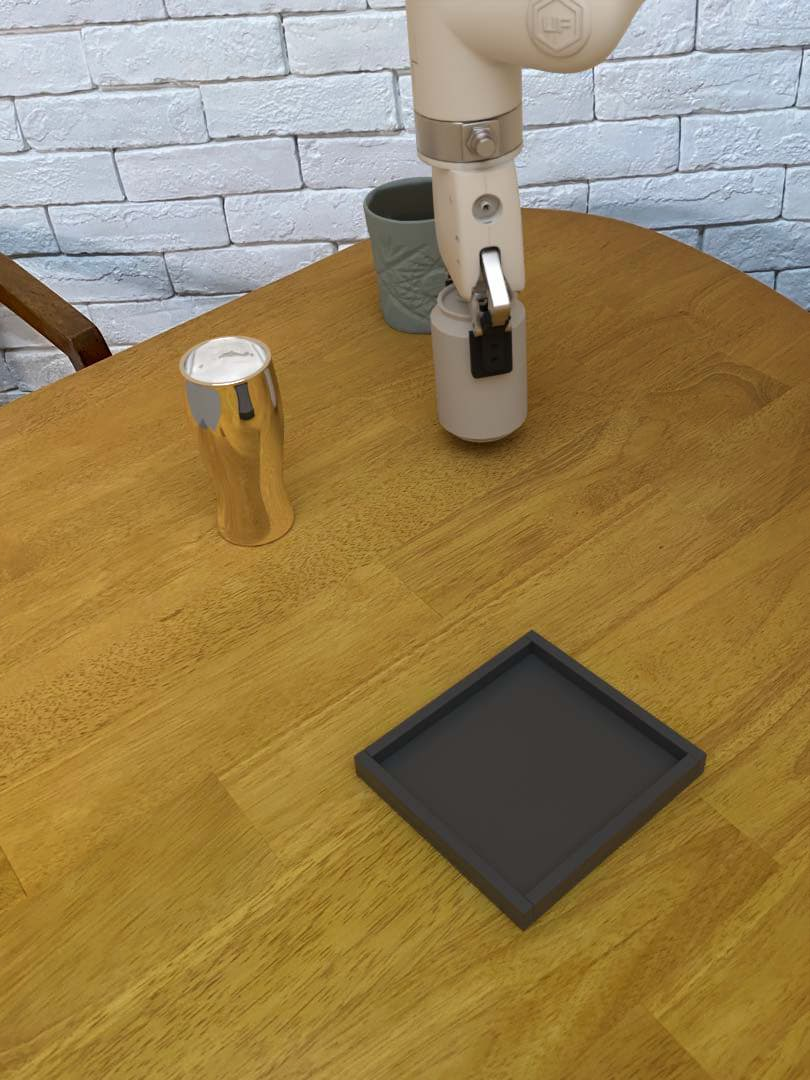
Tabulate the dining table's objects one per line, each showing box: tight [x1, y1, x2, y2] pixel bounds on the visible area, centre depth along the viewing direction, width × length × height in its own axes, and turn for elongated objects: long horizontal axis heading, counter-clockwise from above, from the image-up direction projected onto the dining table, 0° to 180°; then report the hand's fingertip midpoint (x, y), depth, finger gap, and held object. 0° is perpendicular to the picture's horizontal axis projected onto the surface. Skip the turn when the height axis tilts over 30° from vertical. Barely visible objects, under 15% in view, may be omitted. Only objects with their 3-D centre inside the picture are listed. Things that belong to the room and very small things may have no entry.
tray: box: [353, 629, 708, 932], centre depth 69 cm, size 16×15×2 cm
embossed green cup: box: [362, 176, 452, 335], centre depth 109 cm, size 10×10×12 cm
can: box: [430, 282, 529, 443], centre depth 91 cm, size 8×8×12 cm
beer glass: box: [178, 335, 295, 547], centre depth 85 cm, size 7×7×15 cm
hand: (479, 346), depth 90 cm, fingers closed on can, 7 cm apart
